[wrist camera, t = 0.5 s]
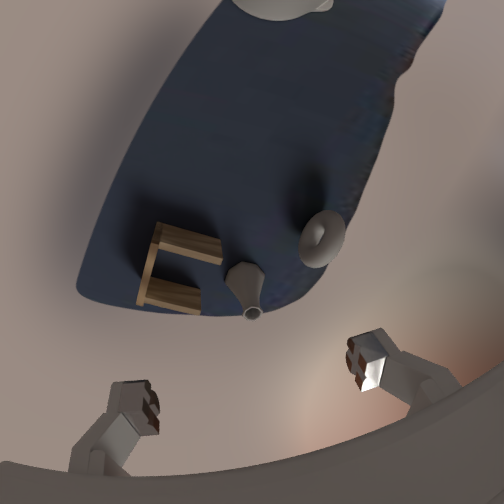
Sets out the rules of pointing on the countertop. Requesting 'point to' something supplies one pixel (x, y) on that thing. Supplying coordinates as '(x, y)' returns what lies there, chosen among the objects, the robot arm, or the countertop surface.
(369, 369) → the robot arm
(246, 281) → the flask
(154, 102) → the countertop surface
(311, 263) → the donut
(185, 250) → the wooden arch bench
